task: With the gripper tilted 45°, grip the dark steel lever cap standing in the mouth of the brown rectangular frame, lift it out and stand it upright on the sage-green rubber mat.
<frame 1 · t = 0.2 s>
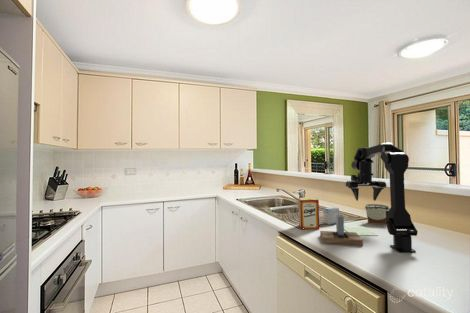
hand: (365, 200, 122), 15 cm above the countertop, tool pointing down, fingers open, 9 cm apart
lever cap: (340, 228, 105), in the brown rectangular frame
food container: (375, 222, 132), on the countertop
medicine box: (331, 223, 133), on the countertop
sage mat: (358, 231, 118), on the countertop
brown rectangular frame: (340, 240, 105), on the countertop
baking soda box: (308, 227, 126), on the countertop
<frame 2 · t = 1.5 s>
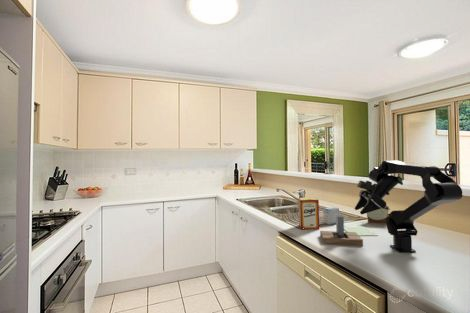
hand: (357, 211, 104), 14 cm above the countertop, tool tilted 45°, fingers open, 9 cm apart
nothing on the countertop moved.
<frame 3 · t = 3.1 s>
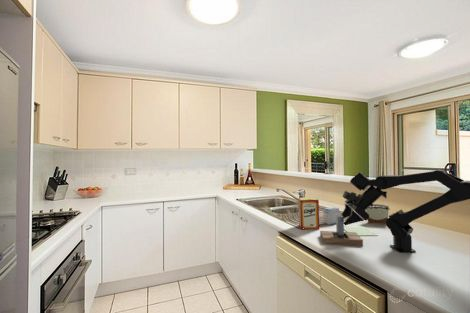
hand: (342, 221, 105), 9 cm above the countertop, tool tilted 45°, fingers open, 9 cm apart
nothing on the countertop moved.
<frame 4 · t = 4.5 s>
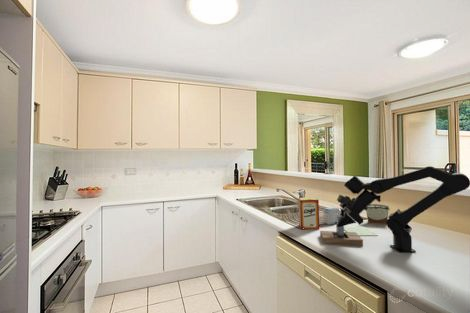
hand: (336, 225, 106), 7 cm above the countertop, tool tilted 45°, fingers closed on lever cap, 3 cm apart
lever cap: (340, 228, 105), in the brown rectangular frame, touching gripper
everything else where it was.
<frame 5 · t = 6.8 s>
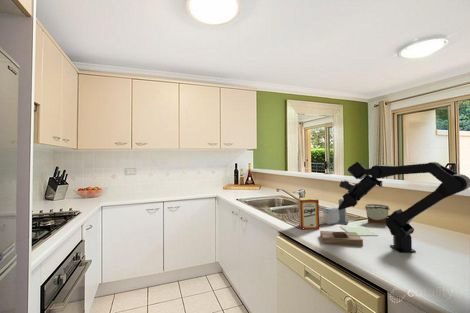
hand: (339, 208, 112), 13 cm above the countertop, tool tilted 45°, fingers closed on lever cap, 3 cm apart
lever cap: (342, 211, 111), point 12 cm above the countertop, touching gripper
everything else where it was.
when the fingers open (8 cm above the countertop, at t = 9.3 s): lever cap stays where it is, resting on sage mat.
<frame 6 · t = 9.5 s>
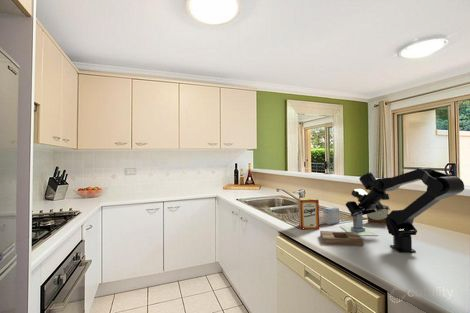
hand: (355, 215, 119), 8 cm above the countertop, tool tilted 45°, fingers open, 5 cm apart
lever cap: (357, 219, 118), resting on sage mat
everything else where it was.
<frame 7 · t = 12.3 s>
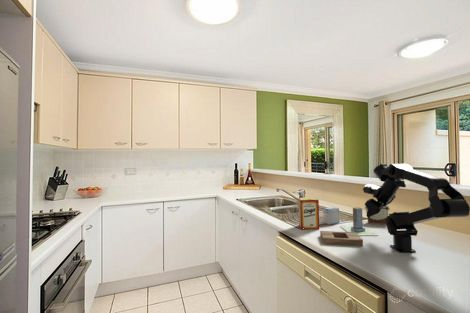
hand: (371, 213, 109), 11 cm above the countertop, tool tilted 35°, fingers open, 9 cm apart
nothing on the countertop moved.
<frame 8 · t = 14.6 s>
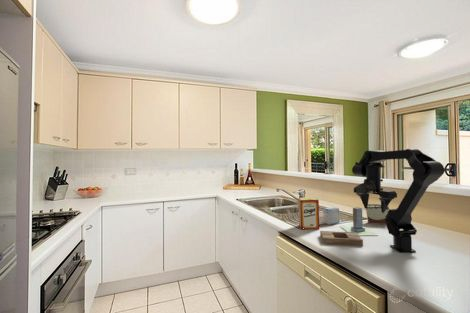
hand: (374, 210, 108), 13 cm above the countertop, tool pointing down, fingers open, 9 cm apart
nothing on the countertop moved.
at the end: lever cap inside the target area on the sage mat (0.0 cm from its centre), point 6.0 cm above the sage mat's base; lever cap tilted 0°; the gripper is holding nothing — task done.
